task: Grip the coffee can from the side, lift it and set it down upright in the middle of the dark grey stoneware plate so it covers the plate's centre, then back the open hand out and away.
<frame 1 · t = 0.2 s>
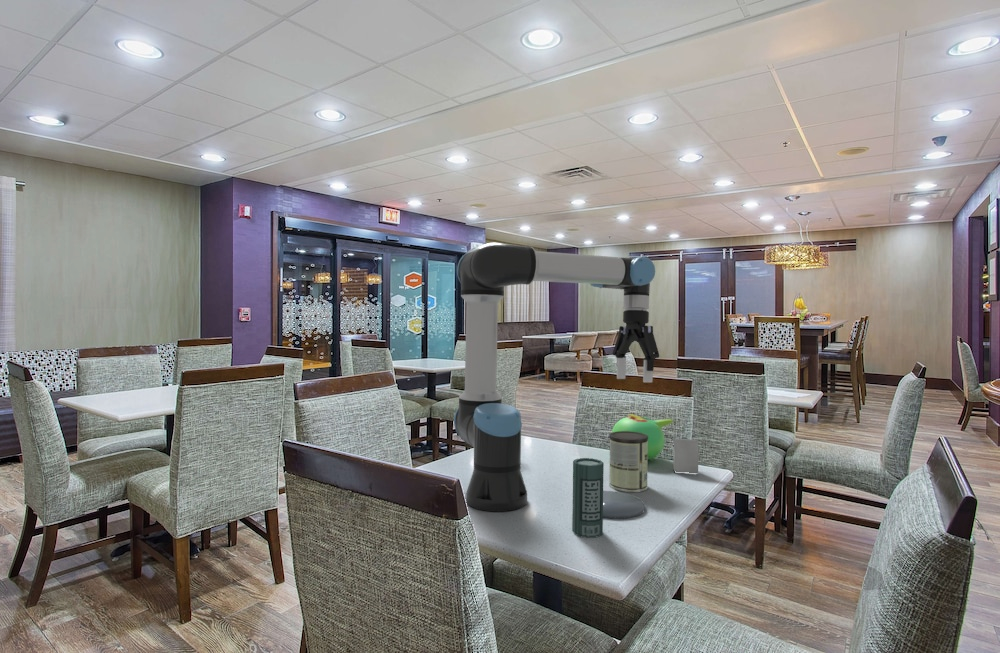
hand: (633, 380, 161), 27 cm above the table, tool pointing down, fingers open, 13 cm apart
grey box: (685, 473, 159), on the table
coffee can: (628, 487, 146), on the table
stoneware plate: (610, 506, 130), on the table
toy bird: (638, 459, 175), on the table
can: (587, 532, 114), on the table
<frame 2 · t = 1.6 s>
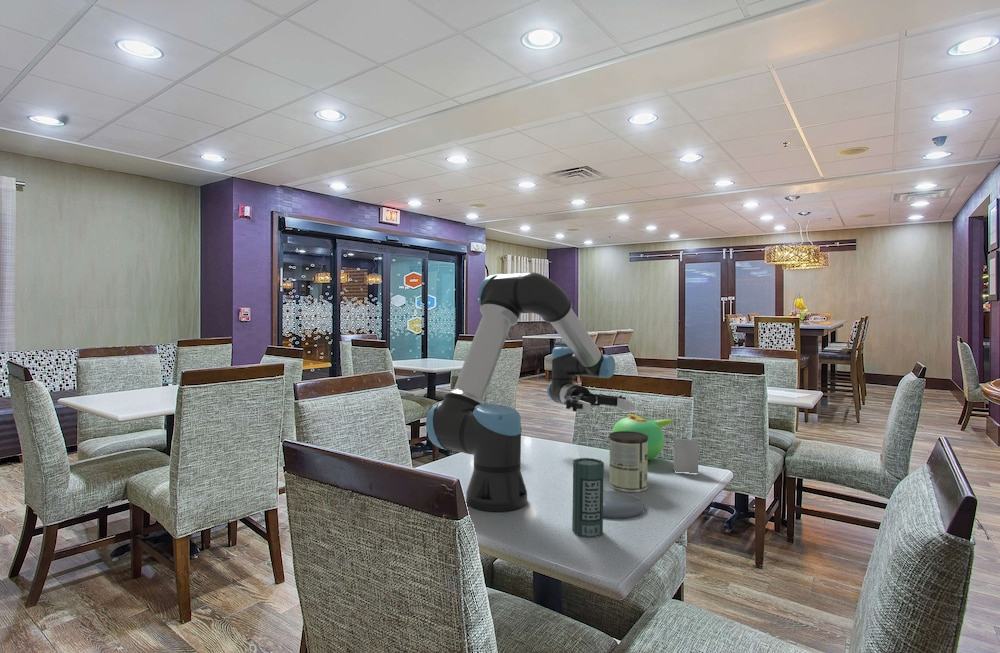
hand: (610, 407, 154), 20 cm above the table, tool horizontal, fingers open, 13 cm apart
nothing on the table moved.
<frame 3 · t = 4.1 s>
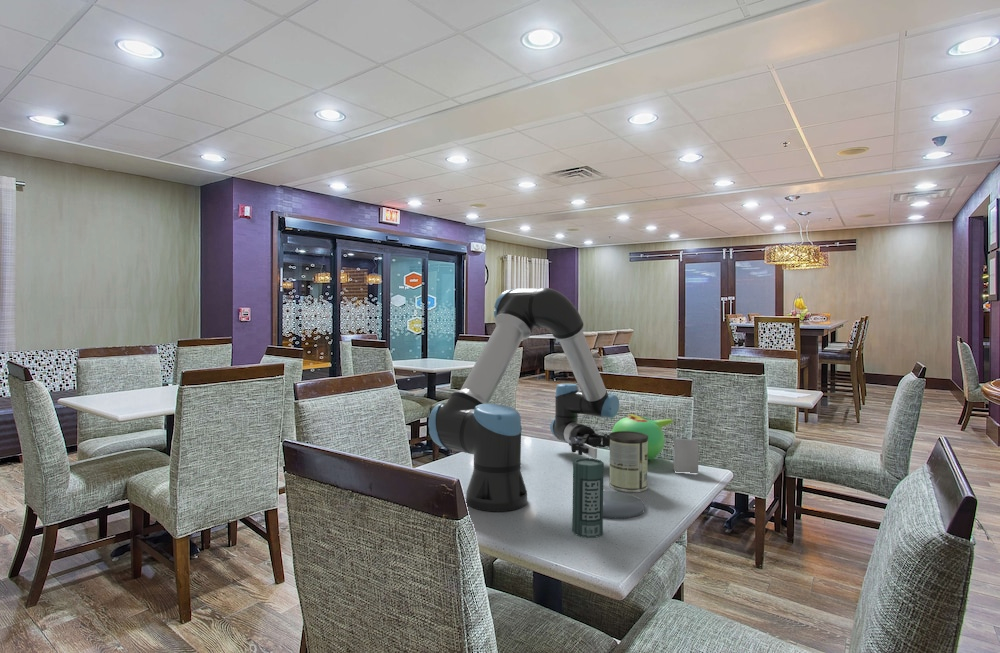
hand: (616, 451, 152), 8 cm above the table, tool horizontal, fingers open, 13 cm apart
nothing on the table moved.
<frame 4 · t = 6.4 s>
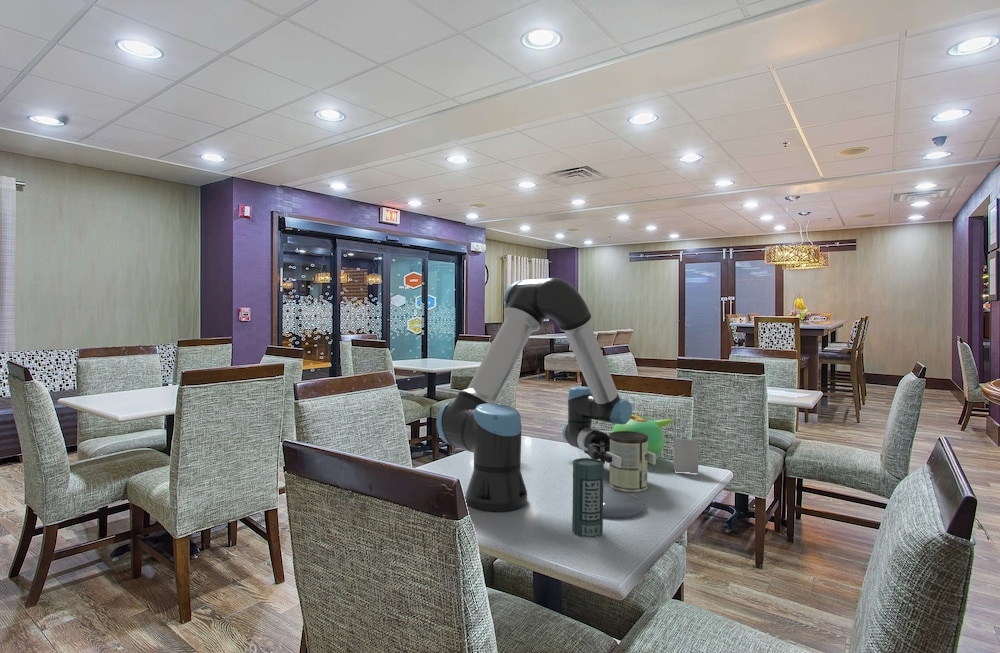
hand: (637, 461, 141), 8 cm above the table, tool horizontal, fingers closed on coffee can, 10 cm apart
coffee can: (627, 487, 146), on the table, touching gripper
everything else where it was.
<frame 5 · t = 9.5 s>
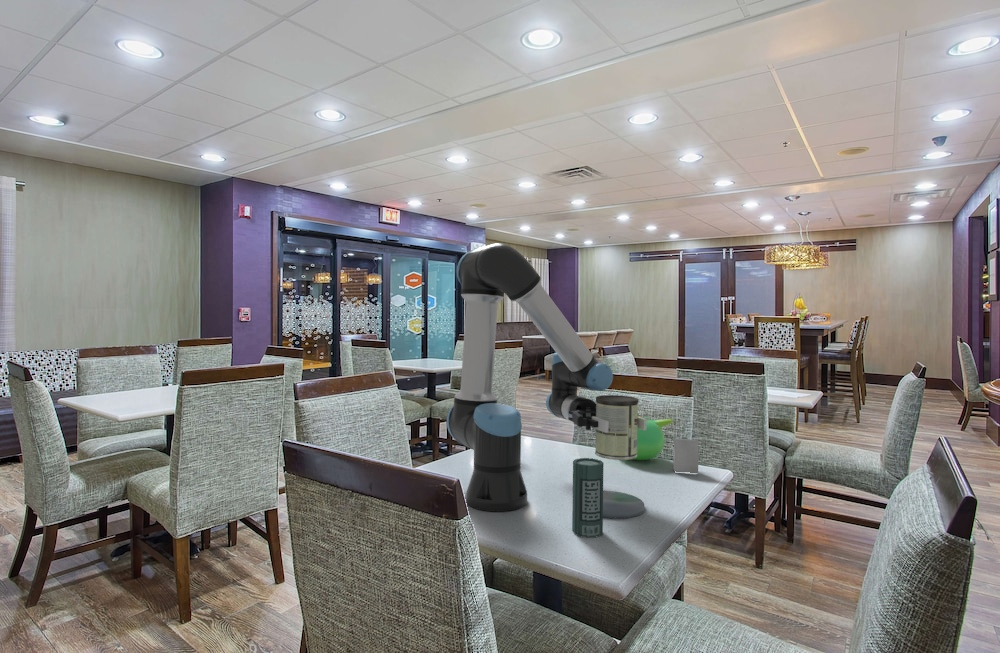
hand: (626, 425, 128), 20 cm above the table, tool horizontal, fingers closed on coffee can, 10 cm apart
coffee can: (615, 455, 132), point 12 cm above the table, touching gripper
everything else where it was.
when the fingers open (10 cm above the table, at t = 12.6 s): coffee can drops 1 cm, resting on stoneware plate.
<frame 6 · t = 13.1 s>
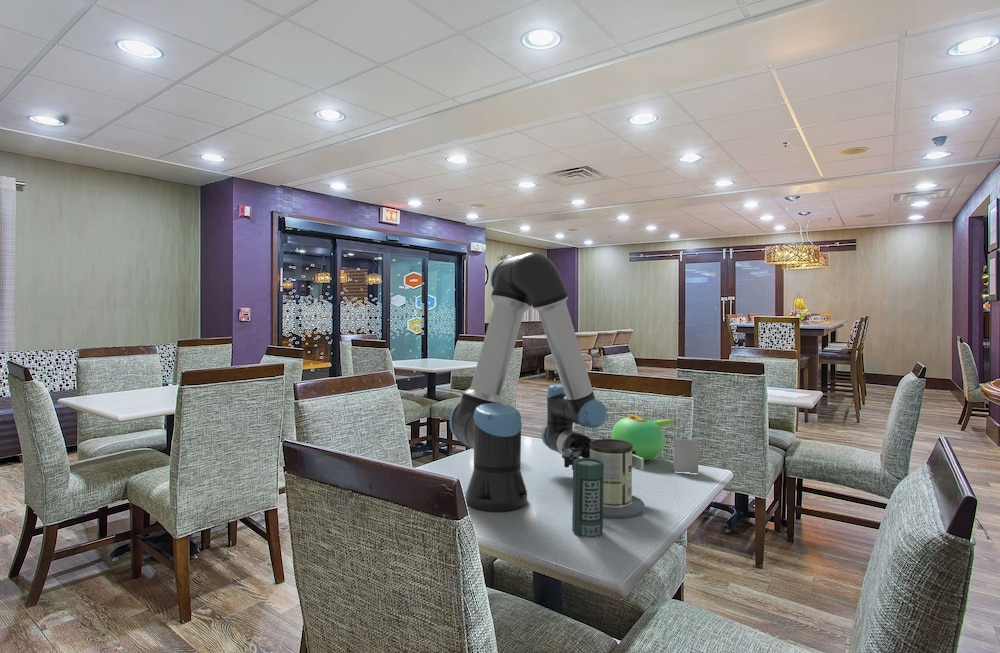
hand: (618, 466, 127), 10 cm above the table, tool horizontal, fingers open, 13 cm apart
coffee can: (610, 502, 130), point 1 cm above the table, touching stoneware plate
everything else where it was.
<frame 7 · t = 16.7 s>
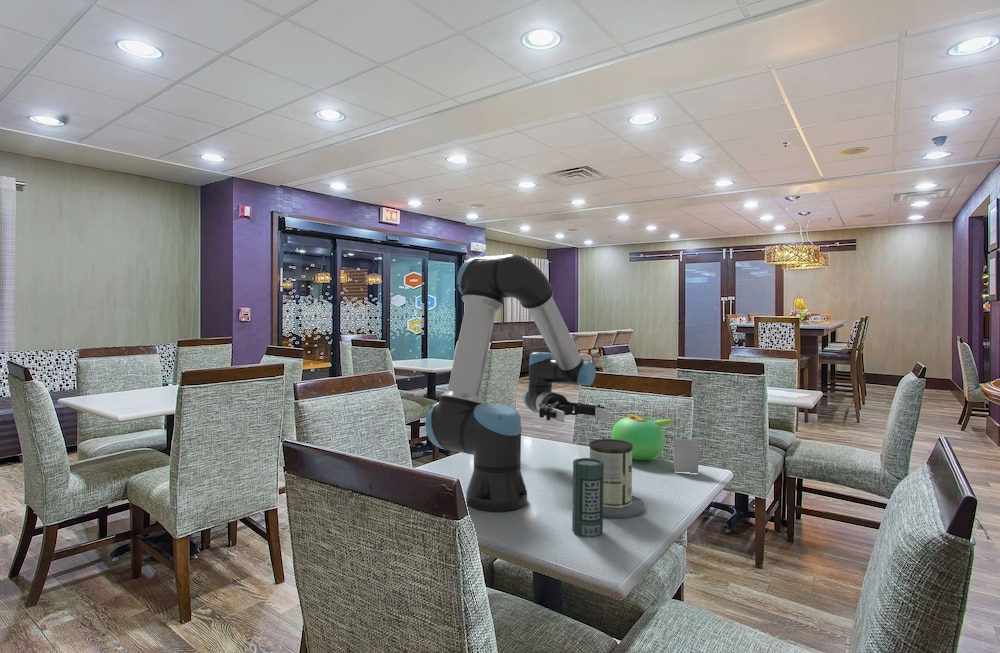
hand: (586, 416, 143), 19 cm above the table, tool horizontal, fingers open, 13 cm apart
nothing on the table moved.
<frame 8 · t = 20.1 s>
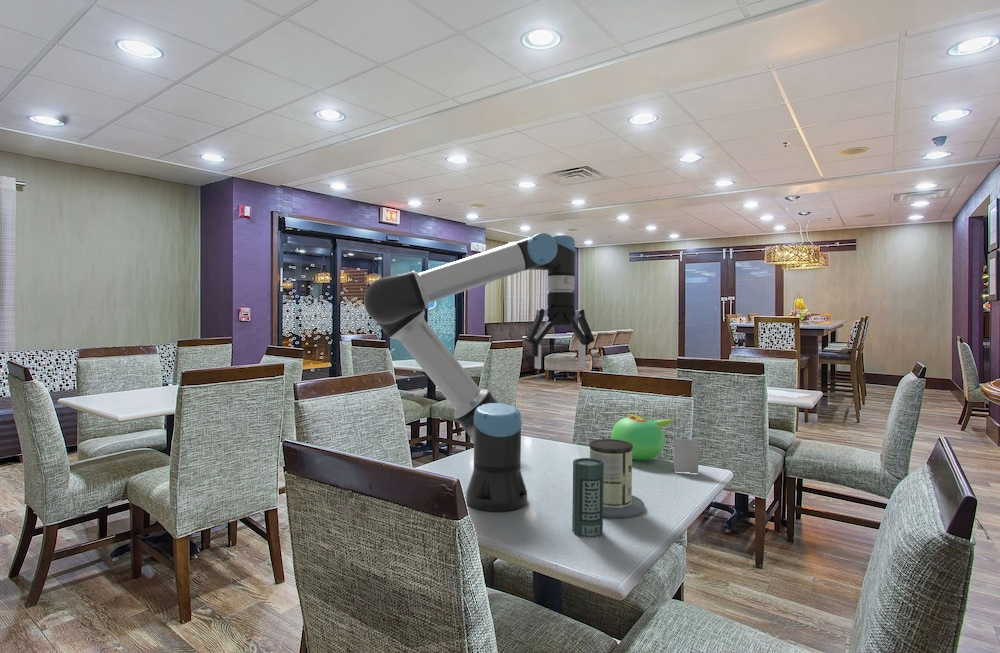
hand: (560, 368, 149), 32 cm above the table, tool pointing down, fingers open, 13 cm apart
nothing on the table moved.
at the end: coffee can 0.0 cm from the stoneware plate (horizontally); coffee can tilted 0°; coffee can touching stoneware plate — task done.
